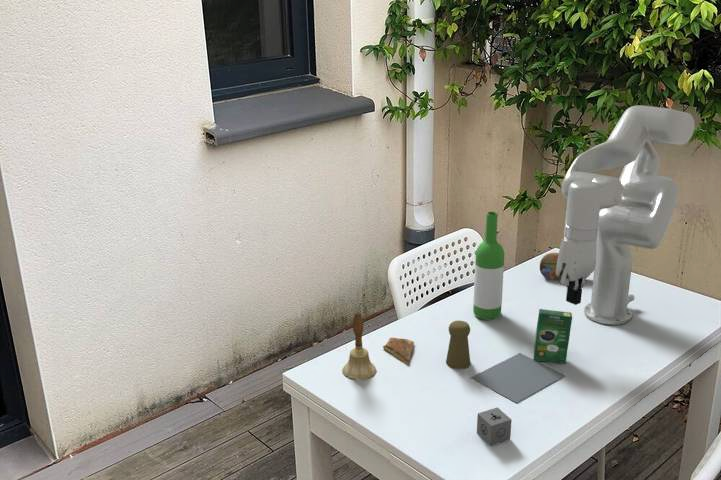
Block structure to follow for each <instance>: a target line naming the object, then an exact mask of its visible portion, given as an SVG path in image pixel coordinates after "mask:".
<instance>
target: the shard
mask: <svg viewBox="0 0 721 480" xmlns="http://www.w3.org/2000/svg"><path fill="white" fill-rule="evenodd" d="M414 345H415V340H414V341H413V340H410V339H407V338H399V337H389V338H388V340H387V342H386V343H385V345H383V346H382V349H383V350H385V351H386V352H388V353H391V354H392V355H393V356H394V355H395V356H394V357H396V358H397V359H398V360H400V361H401V362H403V363H405V364H407V365H409V363H410V360H411V359H410V358H411V355H412V352H413V349H414Z"/></svg>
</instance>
